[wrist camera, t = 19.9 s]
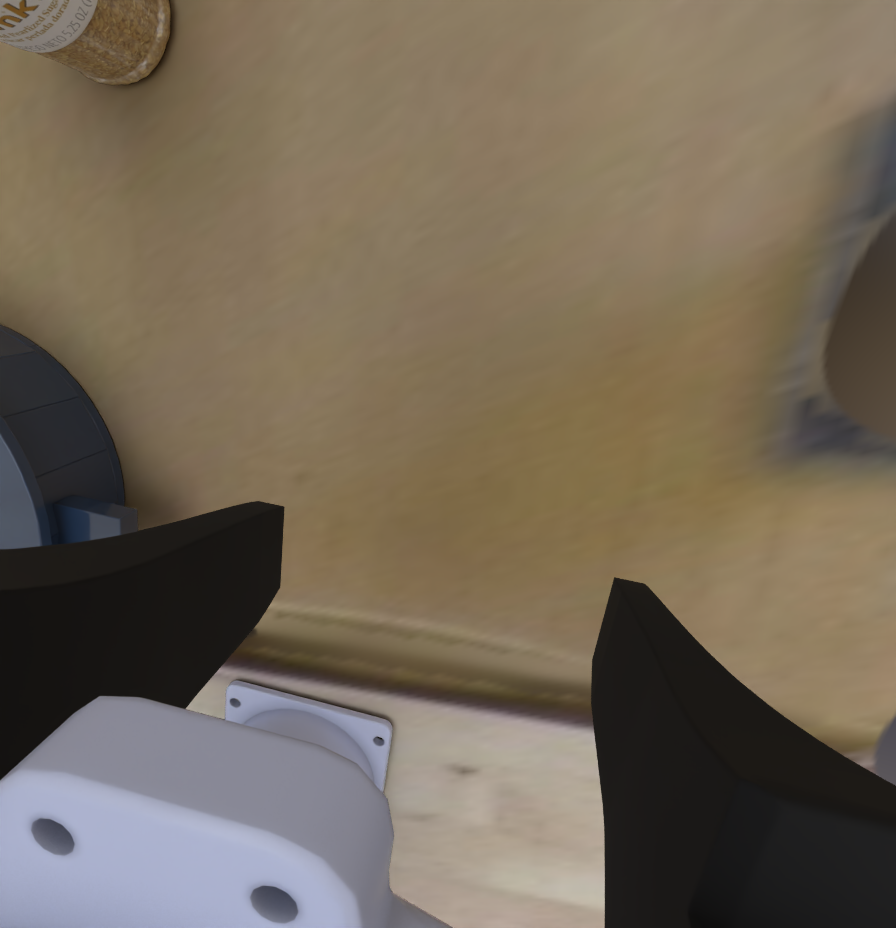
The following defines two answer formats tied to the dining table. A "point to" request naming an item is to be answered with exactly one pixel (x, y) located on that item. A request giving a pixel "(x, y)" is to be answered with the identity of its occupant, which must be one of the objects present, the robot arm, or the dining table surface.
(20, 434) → the pot
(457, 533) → the dining table surface
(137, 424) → the dining table surface
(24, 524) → the lid
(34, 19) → the sprinkles bottle
